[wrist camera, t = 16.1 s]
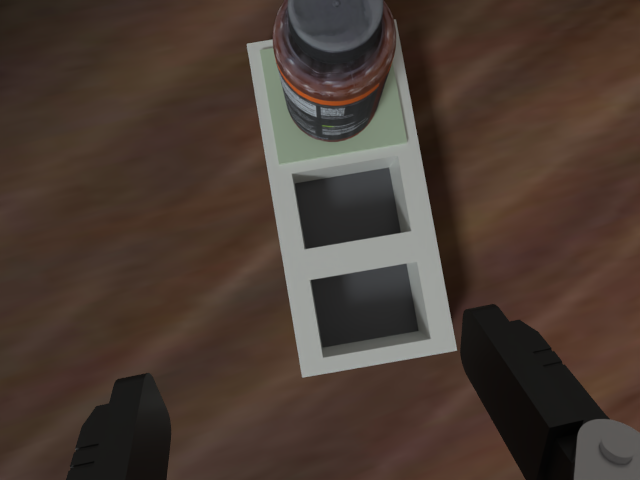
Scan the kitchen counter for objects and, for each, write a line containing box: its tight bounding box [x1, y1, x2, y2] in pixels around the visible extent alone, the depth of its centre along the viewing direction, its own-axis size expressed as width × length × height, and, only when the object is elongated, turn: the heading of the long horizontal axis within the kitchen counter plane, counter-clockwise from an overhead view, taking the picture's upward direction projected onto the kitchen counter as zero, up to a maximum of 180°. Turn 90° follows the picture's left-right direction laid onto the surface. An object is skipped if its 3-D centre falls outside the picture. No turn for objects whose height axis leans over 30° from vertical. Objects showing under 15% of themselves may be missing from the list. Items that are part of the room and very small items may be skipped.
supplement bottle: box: [273, 0, 396, 142], centre depth 25 cm, size 6×6×11 cm
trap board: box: [247, 19, 457, 378], centre depth 32 cm, size 10×22×4 cm, turn 10°
